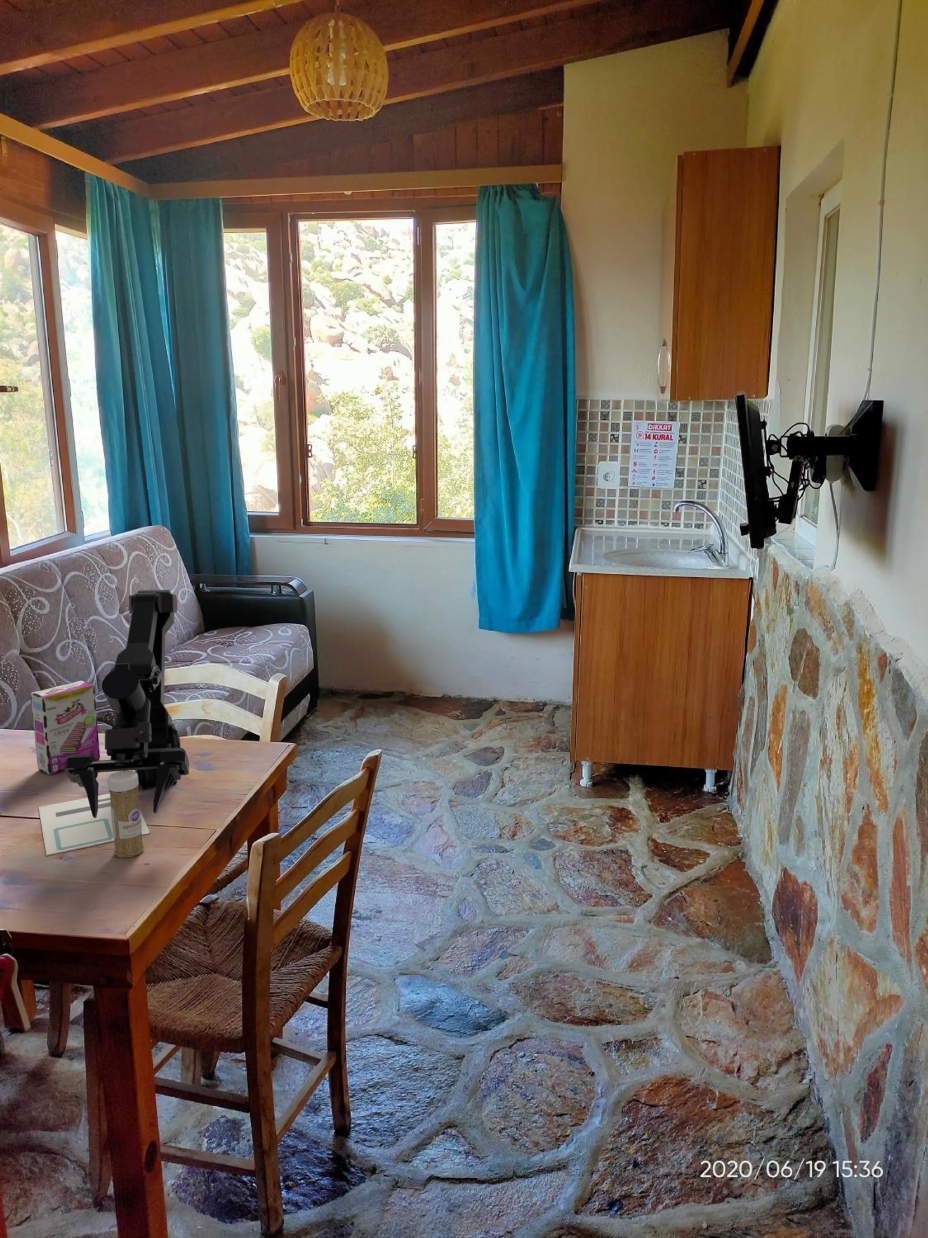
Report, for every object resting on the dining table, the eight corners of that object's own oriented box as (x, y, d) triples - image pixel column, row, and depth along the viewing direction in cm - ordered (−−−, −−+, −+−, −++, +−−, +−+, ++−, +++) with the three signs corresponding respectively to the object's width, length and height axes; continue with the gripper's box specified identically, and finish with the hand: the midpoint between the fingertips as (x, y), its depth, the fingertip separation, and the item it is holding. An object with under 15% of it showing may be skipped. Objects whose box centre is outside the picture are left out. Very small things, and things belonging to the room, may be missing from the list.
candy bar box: (50, 776, 171) (41, 697, 168) (37, 770, 174) (28, 692, 170) (102, 759, 180) (95, 683, 176) (88, 753, 183) (81, 679, 179)
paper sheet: (131, 790, 165) (131, 789, 165) (149, 833, 148) (149, 832, 148) (38, 807, 158) (38, 806, 158) (46, 855, 141) (46, 854, 141)
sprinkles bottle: (133, 860, 139) (126, 782, 136) (108, 857, 140) (101, 779, 137) (150, 846, 144) (143, 771, 141) (125, 843, 145) (118, 768, 142)
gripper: (60, 708, 139) (49, 801, 131) (182, 701, 143) (178, 791, 134) (77, 737, 148) (67, 826, 140) (190, 730, 152) (187, 816, 144)
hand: (124, 814), depth 139 cm, fingers open, 9 cm apart
